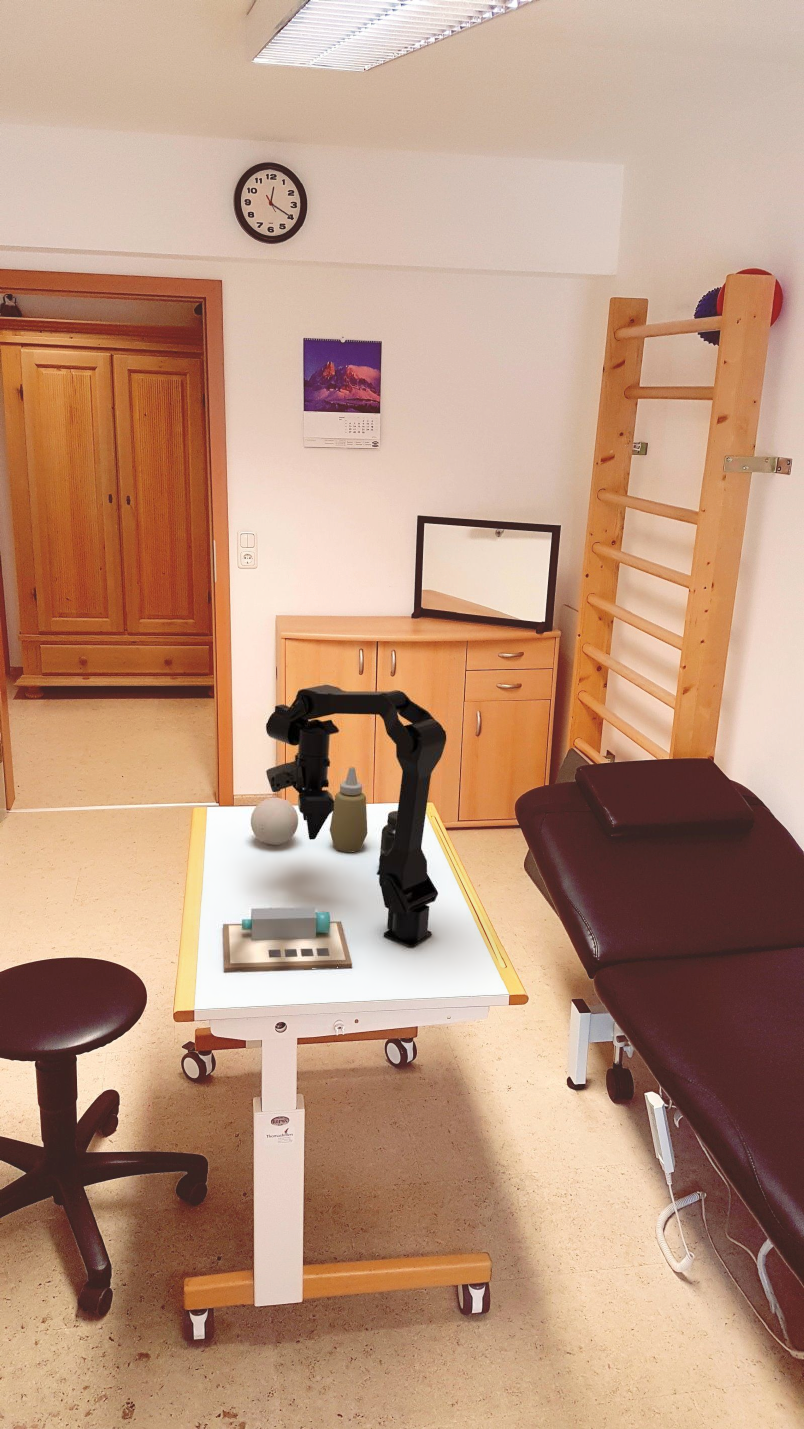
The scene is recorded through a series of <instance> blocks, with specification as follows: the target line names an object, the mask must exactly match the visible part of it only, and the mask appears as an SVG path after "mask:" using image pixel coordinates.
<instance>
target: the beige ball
mask: <svg viewBox="0 0 804 1429" xmlns="http://www.w3.org/2000/svg"><path fill="white" fill-rule="evenodd" d="M250 826H251V831H252V832H253V834H254V836H255V837H256V838H257V839H258V840H259V841H260V842H262V843H265V844H266V845H271V846H278V845H281V844H284V843H286V842H288V841H290V840H291V839H292V838H293V837H294V835H295V834H296V832H297V830H298V826H299V817H298V813H297V810H296V808H295V806H293V804H292V803H291V802H289V801H288V800H286V799H284V798H281V797H269V798H266V799H264V800H261V801H260V802H259V803H258V804H257V805H256V806H255V807H254V809H253V811H252V813H251V817H250Z"/></svg>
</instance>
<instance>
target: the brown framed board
mask: <svg viewBox="0 0 804 1429" xmlns="http://www.w3.org/2000/svg"><path fill="white" fill-rule="evenodd" d="M346 938H347V937H346V935H345V931H344V927H343V923H342V921H341V920H340V921H337V920H336V921H334V920H333V921H330V931H329V933H316V939H286V940H252V938H251V930H242V923H223V924H222V941H223V942H222V945H223V946H222V947H223V951H222V952H223V972H224V973H233V972H232V971H243V972H266V971H269V972H271V971H270V970H274V971H290V970H289V969H294V970H293V971H296V970H295V969H304V970H313V969H312V968H335V969H345V968H344V967H348V968H347V969H352V968H353V962H352V958H351V954H350V950H349V947H348V943H347V939H346ZM337 967H338V968H337ZM349 967H351V968H349ZM283 969H284V970H283Z"/></svg>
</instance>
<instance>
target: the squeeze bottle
mask: <svg viewBox="0 0 804 1429" xmlns="http://www.w3.org/2000/svg"><path fill="white" fill-rule="evenodd" d="M367 811H368V810H367V796H366V794H364V793H363V784H362V783H361V782H360V781H358V778H357V773H356V768H355V767H354V766H350V767H349V768H348V771H347V774H346V778H345V781H342V782H340V784H339V791H337V793H335V794H334V811H332V813H331V818H330V819H331V820H330V825H329V826H330V827H329V833H330V836H331V840H332V844H333V847H334V849H336V850H337V851H340V852H344V853H345V852H346V853H353V852H358V851H359V850H361V849H362V848H363V845H364V842H365V840H366V837H367V835H368V813H367Z"/></svg>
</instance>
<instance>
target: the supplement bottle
mask: <svg viewBox="0 0 804 1429" xmlns="http://www.w3.org/2000/svg"><path fill="white" fill-rule="evenodd" d="M397 812H398V810H394V811H390V812H388V814H387V820H386V821H387V822H386V823H387V824H385V825H384V826H383V827H382V829H381V836H380V849H379V850H380V851H379V855H380V854H381V853H384V852H386V851H389V850H391V849H392V847H393V844H394V836H395V828H396V820H397Z"/></svg>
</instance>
